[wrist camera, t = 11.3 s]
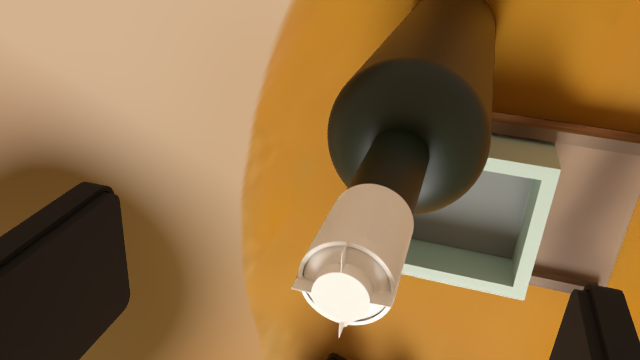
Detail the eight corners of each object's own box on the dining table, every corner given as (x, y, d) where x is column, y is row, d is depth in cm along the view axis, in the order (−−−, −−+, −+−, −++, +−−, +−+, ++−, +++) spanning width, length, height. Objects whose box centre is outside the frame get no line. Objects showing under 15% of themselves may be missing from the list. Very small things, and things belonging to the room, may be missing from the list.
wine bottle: (501, -11, 36) (504, 193, 10) (489, 77, 38) (465, 429, 12) (410, -15, 37) (203, 154, 11) (404, 71, 40) (222, 373, 14)
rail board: (653, 136, 37) (694, 196, 29) (601, 284, 42) (623, 369, 34) (396, 97, 41) (372, 141, 33) (378, 238, 46) (352, 305, 38)
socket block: (554, 143, 38) (561, 169, 34) (521, 264, 42) (524, 300, 38) (408, 119, 40) (398, 142, 36) (391, 237, 44) (381, 269, 40)
